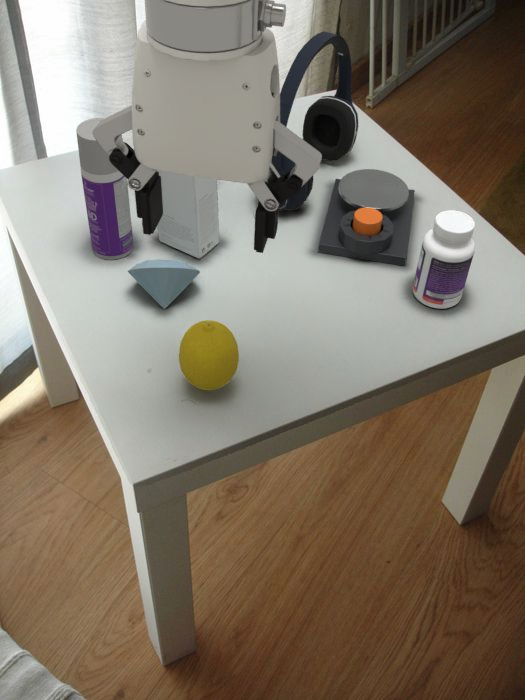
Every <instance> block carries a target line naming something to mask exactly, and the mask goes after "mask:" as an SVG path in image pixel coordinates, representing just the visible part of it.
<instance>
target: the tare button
mask: <svg viewBox="0 0 525 700" xmlns="http://www.w3.org/2000/svg"><path fill="white" fill-rule="evenodd" d="M382 218H383V217H382V214H381V213H380V212H379V211H378V210H376V209H373V208H368V207H365V208H360V209H358V210H356V212H355V214H354V220H353V229H354V231H355V232H357V233H359V234H362V235H368V236H371V235H376V234H378V233H379V232H380V229H381V224H382Z"/></svg>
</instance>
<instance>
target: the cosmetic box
mask: <svg viewBox="0 0 525 700" xmlns="http://www.w3.org/2000/svg"><path fill="white" fill-rule="evenodd" d="M157 172H159V176H161V186H162V202H163V215H162V217H161V219H160V221H159V223H158V225H157V232H158V241H159V242H160V243H162V244H165V245H168V246H170V247H172V248H175V249H177V250H178V251H181V252H183V253H185V254H188V255H190V256H192V257H194V258H196V259H202V258H203V257H204V256H205V255H206V254H207V253H209V252H210V251H211V250H213V249H214V248H215V247H216V246H217V245H218V244H219V242H220V224H219V223H220V221H219V196H218V193H219V192H218V180H217V179H210V178H203V177H196V176H190V175H183V174H177V173H170V172H164V171H159V170H157Z"/></svg>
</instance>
